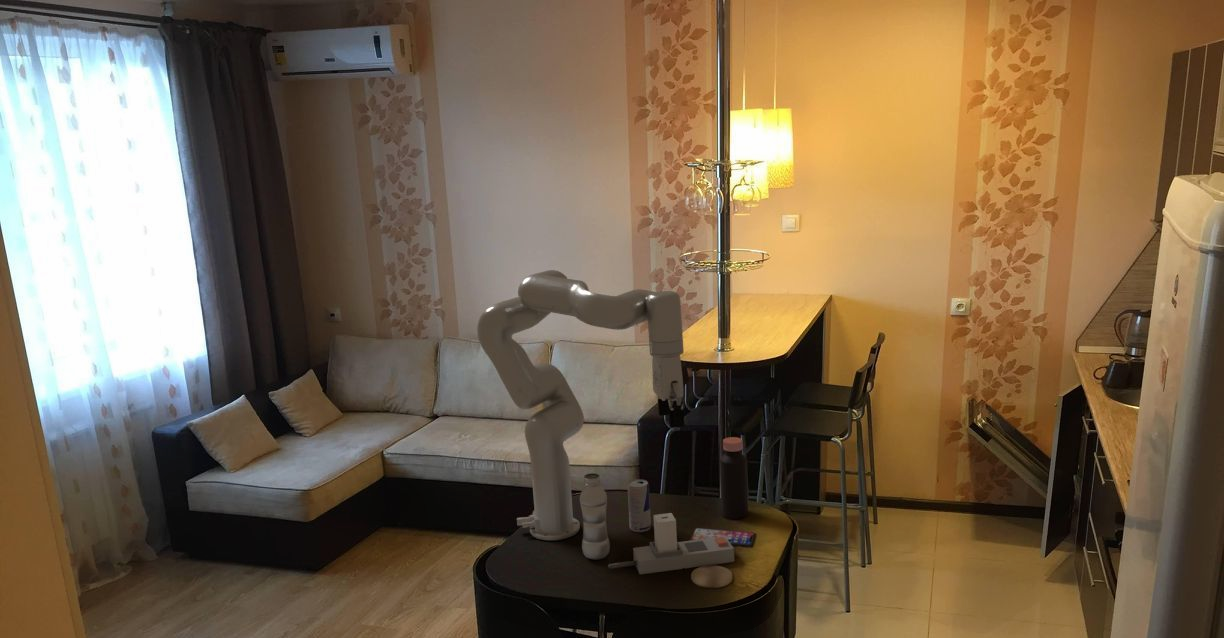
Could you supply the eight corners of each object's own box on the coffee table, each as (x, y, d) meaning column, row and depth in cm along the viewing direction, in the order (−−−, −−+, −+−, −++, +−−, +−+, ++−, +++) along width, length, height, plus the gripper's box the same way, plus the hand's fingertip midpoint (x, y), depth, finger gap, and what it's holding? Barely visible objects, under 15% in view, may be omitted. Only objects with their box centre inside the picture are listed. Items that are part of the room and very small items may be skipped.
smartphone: (695, 527, 208) (755, 532, 204) (695, 530, 208) (755, 535, 204) (688, 540, 201) (751, 545, 197) (688, 543, 201) (751, 549, 197)
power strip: (611, 578, 186) (610, 560, 185) (606, 564, 192) (605, 547, 192) (734, 561, 191) (733, 544, 190) (725, 548, 197) (725, 532, 196)
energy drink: (654, 526, 211) (652, 481, 209) (644, 534, 207) (641, 488, 204) (636, 522, 214) (634, 477, 212) (625, 530, 209) (623, 485, 207)
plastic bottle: (596, 547, 201) (591, 468, 197) (616, 555, 196) (611, 475, 193) (576, 557, 197) (571, 476, 193) (596, 566, 192) (591, 483, 188)
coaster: (697, 590, 179) (697, 588, 179) (686, 570, 188) (686, 568, 187) (737, 584, 180) (737, 582, 180) (725, 565, 189) (725, 563, 189)
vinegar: (727, 507, 220) (725, 434, 216) (752, 511, 216) (750, 437, 212) (717, 517, 214) (714, 442, 210) (742, 521, 211) (740, 446, 207)
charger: (659, 555, 188) (657, 522, 187) (655, 547, 192) (653, 514, 191) (677, 553, 189) (675, 520, 188) (672, 545, 193) (671, 512, 192)
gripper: (641, 341, 194) (646, 412, 197) (659, 357, 178) (664, 434, 181) (672, 338, 196) (677, 408, 199) (693, 352, 179) (698, 429, 182)
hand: (671, 420), depth 190 cm, fingers open, 9 cm apart
